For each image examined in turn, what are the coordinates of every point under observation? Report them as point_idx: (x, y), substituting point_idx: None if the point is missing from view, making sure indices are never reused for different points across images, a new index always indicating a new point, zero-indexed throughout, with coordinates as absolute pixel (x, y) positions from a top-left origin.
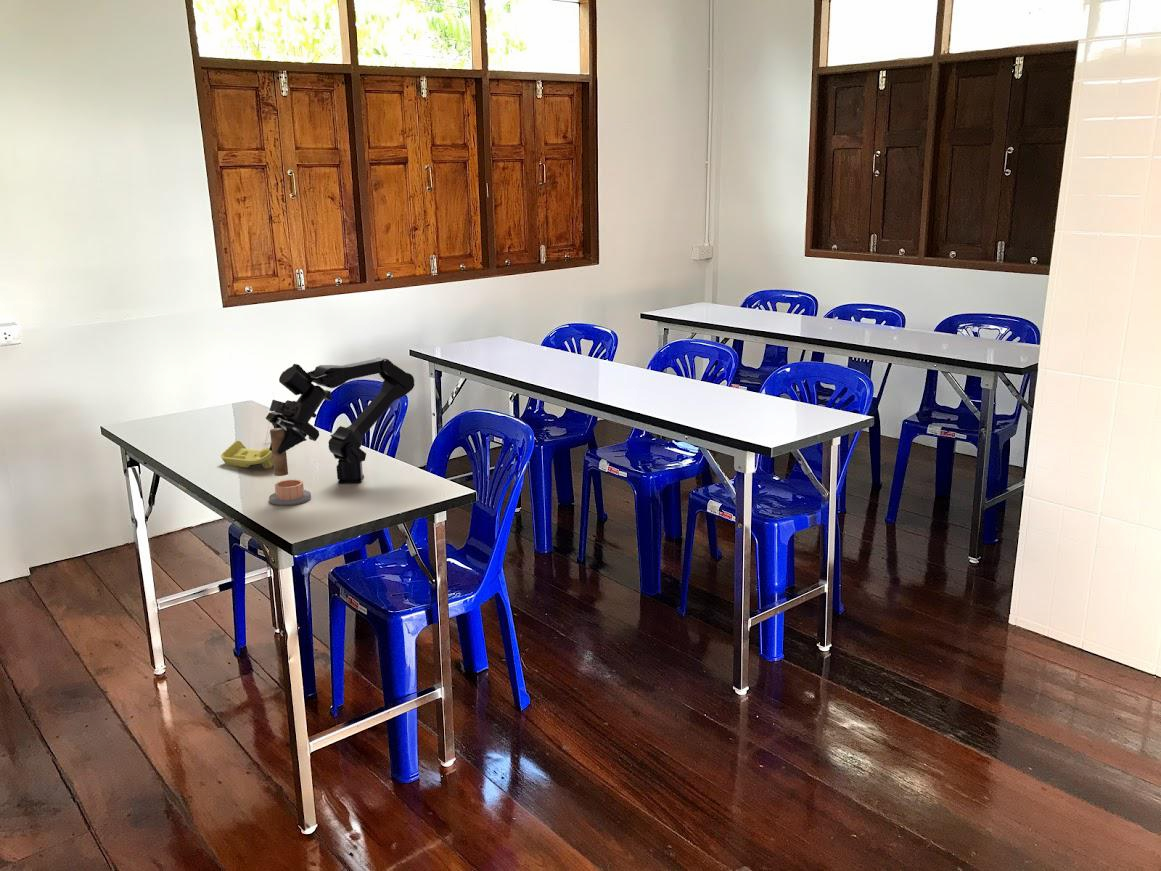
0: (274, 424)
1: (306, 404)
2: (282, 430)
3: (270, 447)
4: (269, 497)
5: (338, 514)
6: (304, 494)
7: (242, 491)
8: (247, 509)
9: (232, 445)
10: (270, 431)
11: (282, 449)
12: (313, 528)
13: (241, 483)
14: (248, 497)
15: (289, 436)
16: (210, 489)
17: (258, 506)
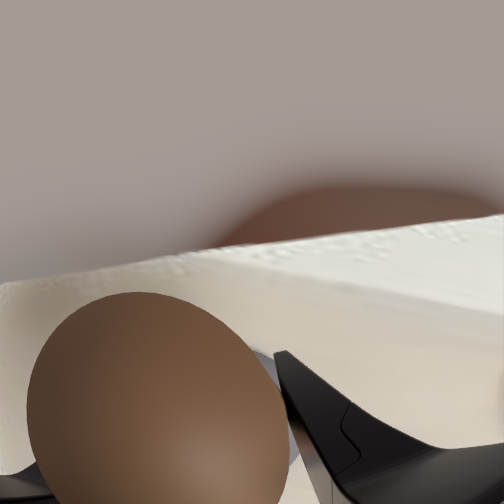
0: (485, 477)
1: None
2: (40, 469)
3: (280, 358)
4: (256, 354)
5: None
6: None
7: (412, 302)
8: (218, 272)
9: None
10: (145, 298)
11: None
12: (11, 346)
13: (482, 314)
14: (340, 305)
15: (26, 474)
16: (457, 231)
17: (225, 308)
